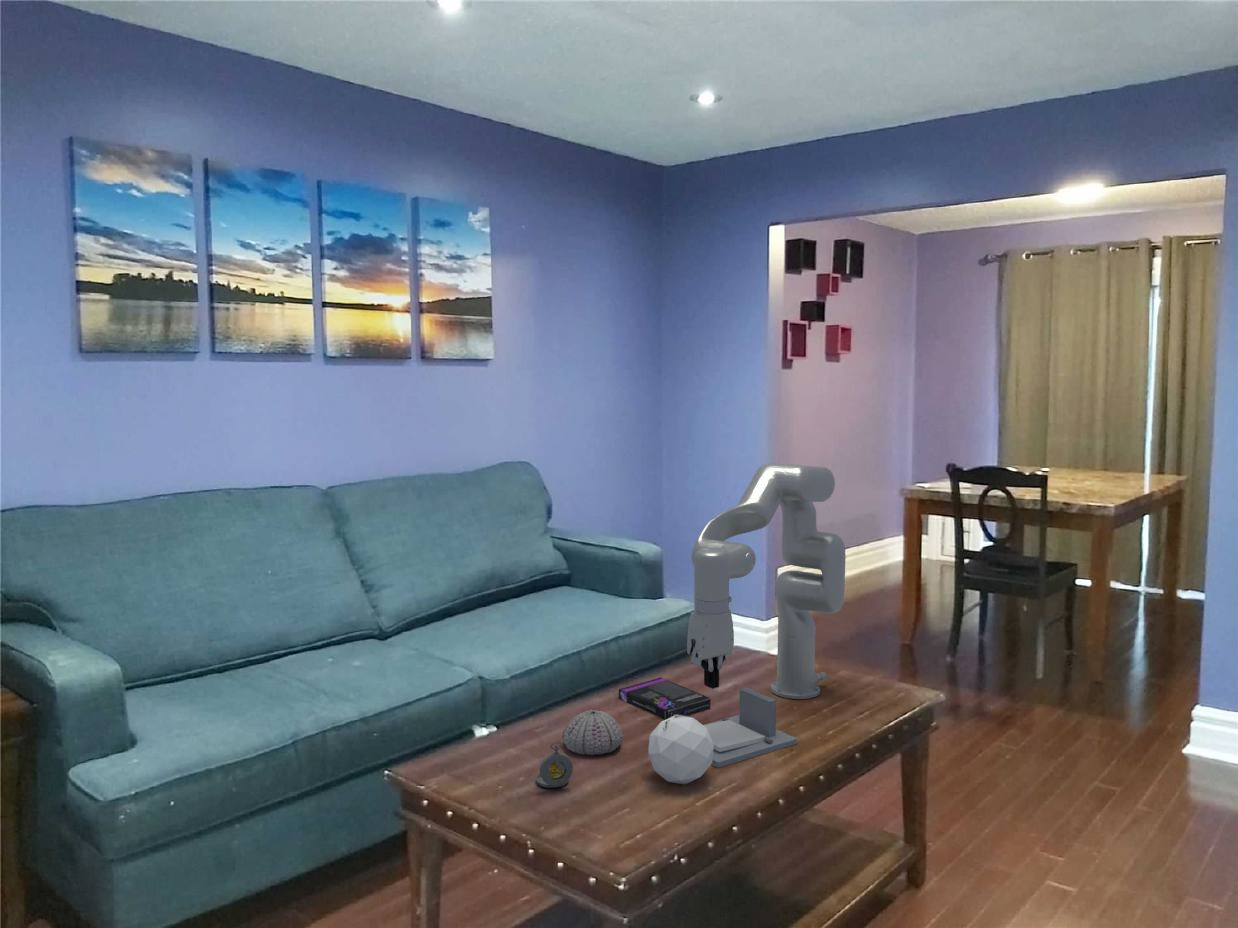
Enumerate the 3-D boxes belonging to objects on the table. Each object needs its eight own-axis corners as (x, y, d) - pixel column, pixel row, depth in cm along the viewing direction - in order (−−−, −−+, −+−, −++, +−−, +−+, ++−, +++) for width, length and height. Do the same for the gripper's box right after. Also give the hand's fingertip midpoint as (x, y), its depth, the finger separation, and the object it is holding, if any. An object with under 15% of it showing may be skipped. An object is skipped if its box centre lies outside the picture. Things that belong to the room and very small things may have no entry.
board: (743, 718, 228) (744, 680, 227) (797, 743, 213) (798, 703, 212) (666, 739, 215) (666, 699, 214) (718, 767, 200) (718, 724, 199)
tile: (685, 729, 214) (685, 733, 214) (720, 747, 204) (719, 752, 204) (729, 719, 221) (729, 724, 221) (764, 736, 211) (764, 741, 211)
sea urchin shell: (617, 761, 203) (617, 725, 202) (555, 756, 206) (555, 721, 205) (627, 737, 216) (627, 703, 215) (569, 733, 219) (569, 699, 218)
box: (618, 701, 241) (668, 723, 226) (618, 688, 241) (668, 709, 226) (660, 689, 250) (711, 709, 234) (660, 676, 249) (711, 696, 234)
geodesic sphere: (676, 778, 182) (702, 711, 187) (621, 759, 191) (648, 695, 196) (710, 801, 191) (734, 737, 196) (657, 782, 200) (681, 720, 205)
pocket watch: (551, 772, 198) (551, 725, 196) (582, 783, 192) (582, 736, 191) (523, 785, 191) (523, 737, 190) (554, 797, 186) (554, 748, 185)
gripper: (726, 595, 214) (726, 674, 217) (673, 607, 206) (674, 688, 208) (749, 603, 208) (748, 684, 210) (695, 615, 200) (695, 699, 202)
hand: (711, 686), depth 209 cm, fingers closed
